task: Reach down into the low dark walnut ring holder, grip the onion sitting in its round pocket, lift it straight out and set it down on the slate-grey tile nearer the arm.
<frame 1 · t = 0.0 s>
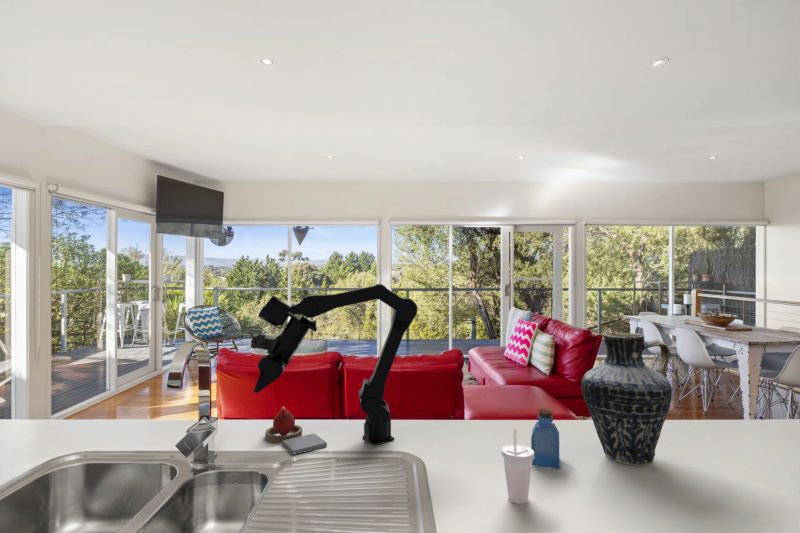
hand: (259, 387, 119), 15 cm above the countertop, tool tilted 35°, fingers open, 9 cm apart
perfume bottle: (545, 462, 107), on the countertop
ring holder: (284, 436, 125), on the countertop
slate tile: (304, 445, 118), on the countertop
jug: (627, 458, 109), on the countertop
onion: (284, 436, 125), resting in ring holder
smoothie: (518, 499, 90), on the countertop
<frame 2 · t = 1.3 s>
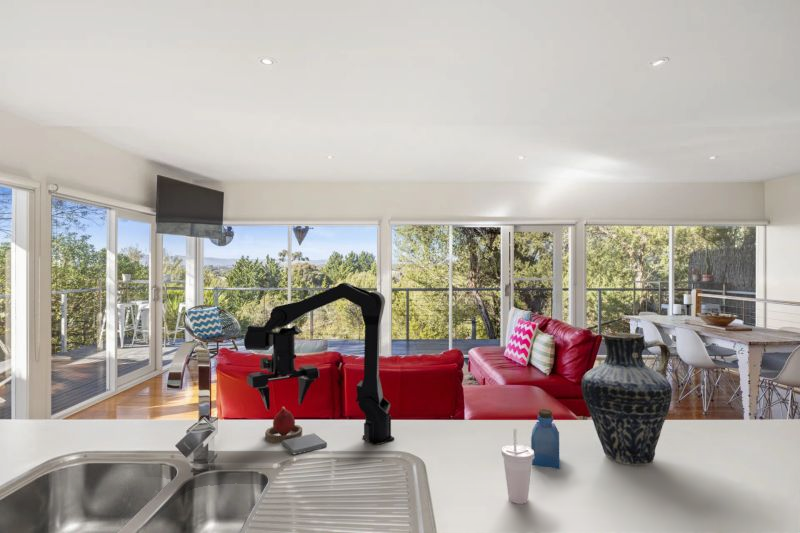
hand: (284, 407, 125), 8 cm above the countertop, tool pointing down, fingers open, 9 cm apart
nothing on the countertop moved.
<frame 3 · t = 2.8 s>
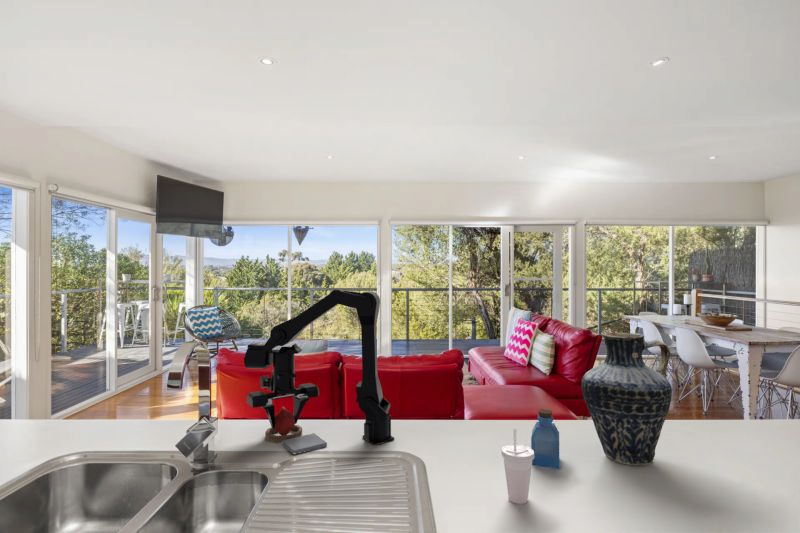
hand: (284, 425, 125), 3 cm above the countertop, tool pointing down, fingers closed on onion, 6 cm apart
onion: (284, 436, 125), resting in ring holder, touching gripper
everything else where it was.
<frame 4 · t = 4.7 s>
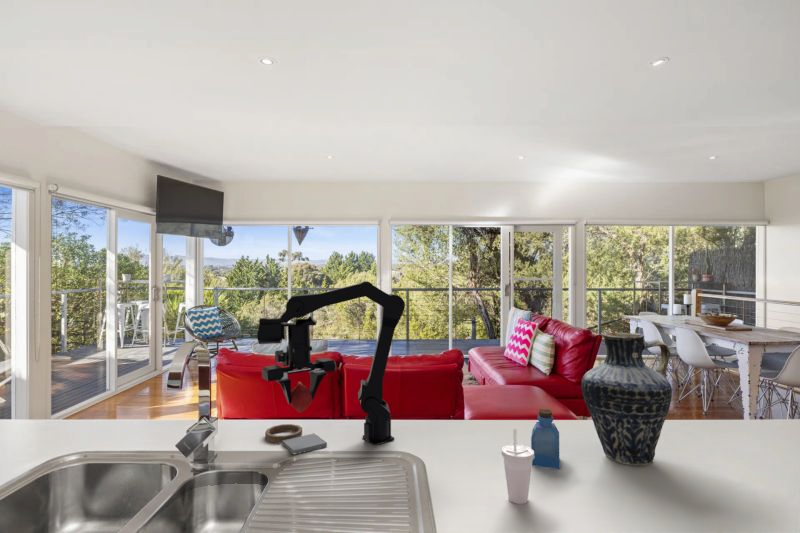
hand: (300, 401, 120), 11 cm above the countertop, tool pointing down, fingers closed on onion, 6 cm apart
onion: (301, 412, 120), point 8 cm above the countertop, touching gripper
everything else where it was.
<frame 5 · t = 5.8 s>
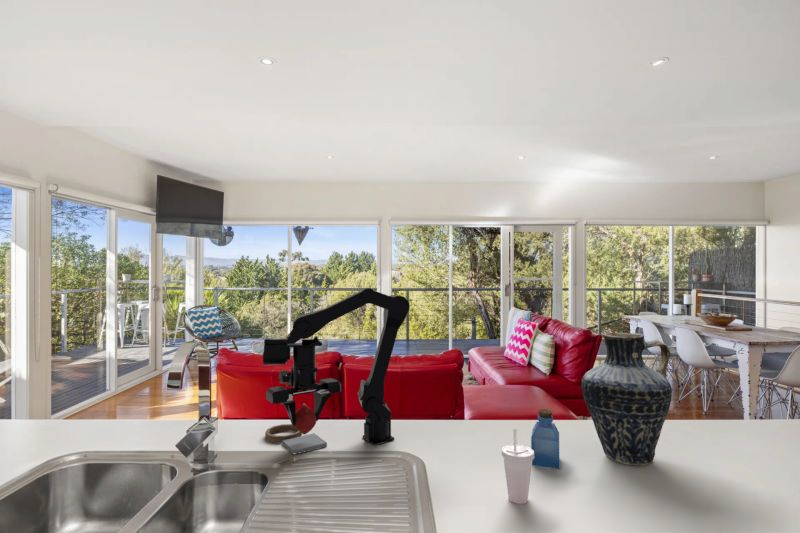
hand: (304, 423, 118), 6 cm above the countertop, tool pointing down, fingers closed on onion, 6 cm apart
onion: (304, 434, 118), point 3 cm above the countertop, touching gripper
everything else where it was.
when the fingers open (5 cm above the countertop, at t = 6.8 s): onion stays where it is, resting on slate tile.
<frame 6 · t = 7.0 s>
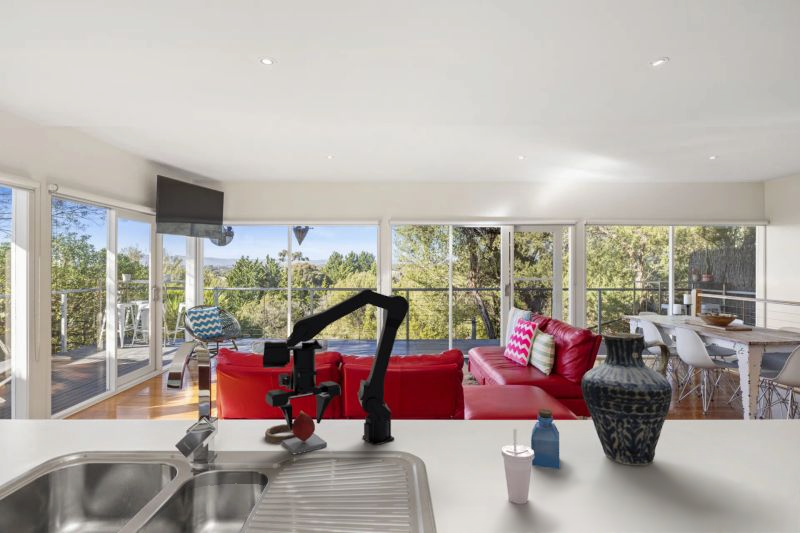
hand: (304, 426, 118), 5 cm above the countertop, tool pointing down, fingers open, 7 cm apart
onion: (304, 441, 118), point 1 cm above the countertop, touching slate tile
everything else where it was.
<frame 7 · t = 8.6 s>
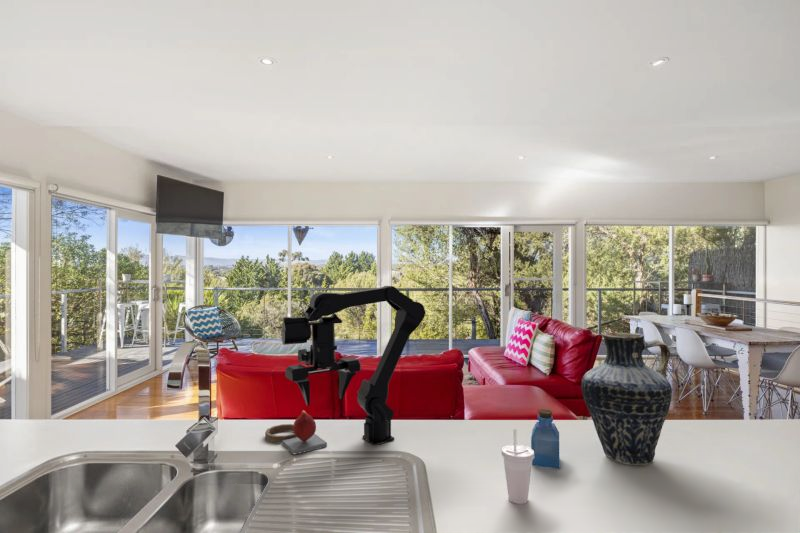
hand: (324, 402, 116), 12 cm above the countertop, tool pointing down, fingers open, 9 cm apart
nothing on the countertop moved.
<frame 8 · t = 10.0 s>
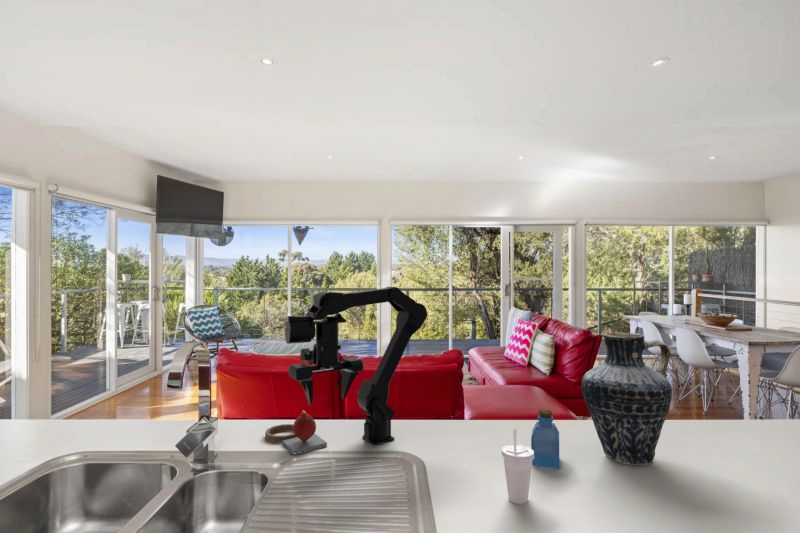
hand: (327, 401, 116), 12 cm above the countertop, tool pointing down, fingers open, 9 cm apart
nothing on the countertop moved.
at the end: onion 0.1 cm off-centre on the slate tile, point 0.8 cm above the slate tile's base; the gripper is holding nothing; onion moved 9.8 cm from its start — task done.
